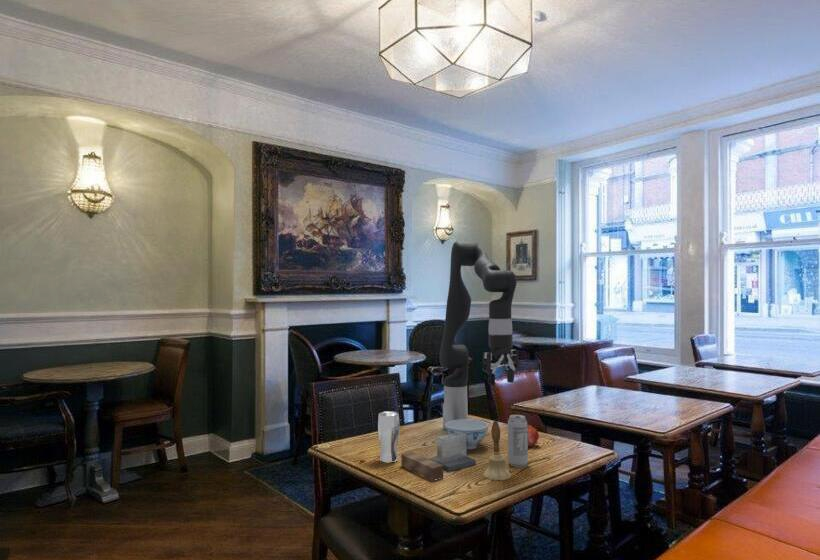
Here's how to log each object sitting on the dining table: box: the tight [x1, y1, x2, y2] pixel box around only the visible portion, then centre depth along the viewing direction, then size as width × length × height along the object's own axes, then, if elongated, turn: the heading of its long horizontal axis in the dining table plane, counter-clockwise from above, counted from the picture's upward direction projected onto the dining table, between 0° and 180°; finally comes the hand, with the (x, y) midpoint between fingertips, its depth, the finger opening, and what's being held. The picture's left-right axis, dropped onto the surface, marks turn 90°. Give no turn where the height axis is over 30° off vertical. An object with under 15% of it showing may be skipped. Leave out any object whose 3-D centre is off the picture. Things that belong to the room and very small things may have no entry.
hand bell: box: [482, 420, 512, 481], centre depth 152 cm, size 8×8×16 cm
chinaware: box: [445, 419, 489, 450], centre depth 180 cm, size 15×15×8 cm
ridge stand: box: [428, 432, 477, 473], centre depth 162 cm, size 10×11×9 cm
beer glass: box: [377, 411, 400, 463], centre depth 166 cm, size 7×7×15 cm
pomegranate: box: [527, 424, 540, 448], centre depth 181 cm, size 7×7×10 cm
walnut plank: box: [400, 451, 444, 481], centre depth 155 cm, size 16×4×4 cm, turn 35°
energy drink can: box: [507, 414, 529, 468], centre depth 161 cm, size 6×6×15 cm
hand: (501, 383), depth 163 cm, fingers open, 8 cm apart
